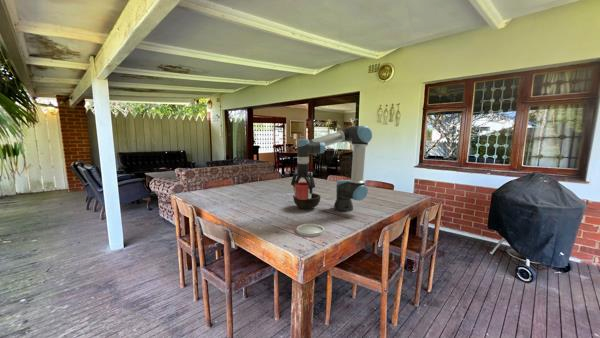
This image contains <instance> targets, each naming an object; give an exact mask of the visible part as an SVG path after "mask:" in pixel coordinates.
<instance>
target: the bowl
mask: <svg viewBox="0 0 600 338" xmlns="http://www.w3.org/2000/svg"><path fill="white" fill-rule="evenodd" d="M321 197H322V196H321V194H318V193H314V192H312V193H311V198H310V199H306V200H300V199H297V196H294V194H293V198H292V199H293V202H294V204H295V205H296V206H297V207H298V208H301V209H303V210H311V209H314V208H315V207H317V206H318V205H319V204H320V201H321Z"/></svg>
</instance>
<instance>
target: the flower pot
mask: <svg viewBox="0 0 600 338" xmlns="http://www.w3.org/2000/svg"><path fill="white" fill-rule="evenodd" d="M308 189H309V185H308V184H307V182H306V181H305V182H301V181H300V182H298V183H297V184H296V183H295V191H296V196H297V199H300V200H306V199H308Z"/></svg>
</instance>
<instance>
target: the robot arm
mask: <svg viewBox="0 0 600 338" xmlns="http://www.w3.org/2000/svg"><path fill="white" fill-rule="evenodd" d="M372 138H373V132H372V130H371V128H370V127H368V126H367V125H350V126H347V127H345V128H342V129H338V130H337V131H336V132H333V133H330V134H325V135H323V136H318V137H316V138H313V139H310V140H309V139H308V138H298V139H297V143H296V144H297V145H296V147H297V150H296V153H297V155H296V159H297V161H296V162H297V164H296V170H293V172H292V173H293V175H292V179H291V182H290V183H291V184H290V185H291V186H293V192H294V194H293V195H294V196H296V191H295V183H296V184H297V183H299V181H300V180H301V179H302V178H303V179H304V180H305V182H307V184H308V185H309V189H308V199H310V198H311V193H313V189H314V188H316V183H315V180H314V177H313V176H314V172H312V171H309V169H310V164H309V163H310V155H311V154H316V155H317V154H319V155H320V154H324V153H325V151H326V147H328V146H331V145H333V144H337V143H341V144H342V143H344V142H345V143H346V142H351V146H353V150H352V162H351V175H350V177H351V179H341V180H337V181H336V196H335V197H336V199H335V202H334V205H333V209H334V210H335V211H338V212H351V211H354V205H353V201H352V200H354V201H357V202H358V201H360V202H361V201H364V199H366V197H367V195H368V193H369V189H368V187H367V186H366V182H365V181H364V172H365V162H366V161H365V158H366V147H367V146H369V142H370V141H371V140H372Z"/></svg>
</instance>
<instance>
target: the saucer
mask: <svg viewBox="0 0 600 338" xmlns="http://www.w3.org/2000/svg"><path fill="white" fill-rule="evenodd" d="M296 233H297V234H298V235H300V236H303V237H312V238H313V237H315V238H316V237H320V236H323V234H325V227H324V226H322V225H320V224H318V223H317V224H316V223H303V224H299V225H297V226H296Z"/></svg>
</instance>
